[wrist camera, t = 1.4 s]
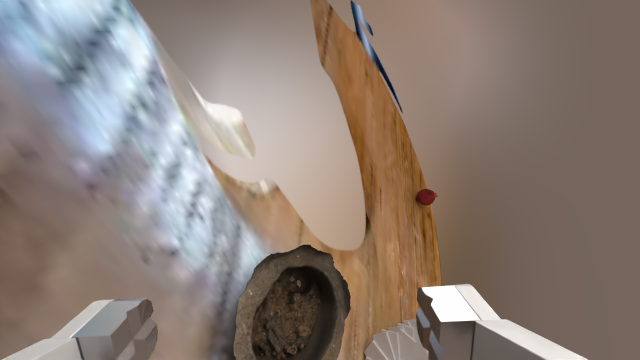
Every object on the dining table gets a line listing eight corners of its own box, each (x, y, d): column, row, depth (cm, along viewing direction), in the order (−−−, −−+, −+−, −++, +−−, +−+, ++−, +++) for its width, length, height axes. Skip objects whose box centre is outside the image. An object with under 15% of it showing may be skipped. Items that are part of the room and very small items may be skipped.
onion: (411, 199, 109) (432, 194, 103) (413, 188, 112) (434, 183, 107) (418, 210, 111) (440, 205, 106) (420, 198, 115) (441, 194, 110)
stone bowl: (301, 230, 65) (335, 227, 59) (327, 343, 65) (363, 351, 59) (194, 274, 46) (228, 276, 40) (230, 434, 46) (270, 459, 40)
